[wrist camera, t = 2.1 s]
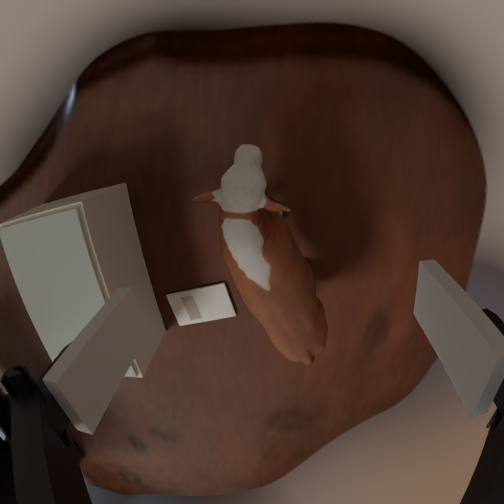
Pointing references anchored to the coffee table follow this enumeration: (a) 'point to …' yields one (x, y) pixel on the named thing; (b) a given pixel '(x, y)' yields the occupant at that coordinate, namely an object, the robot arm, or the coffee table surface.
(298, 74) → the coffee table surface
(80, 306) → the plinth
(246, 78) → the coffee table surface
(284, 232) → the bull figurine
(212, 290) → the page
